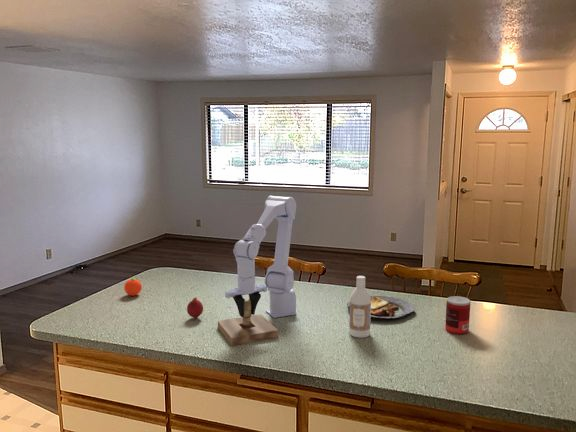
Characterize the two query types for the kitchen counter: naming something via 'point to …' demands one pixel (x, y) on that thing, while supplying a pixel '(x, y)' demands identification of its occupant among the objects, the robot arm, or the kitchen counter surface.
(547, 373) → the kitchen counter surface
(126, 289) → the clementine
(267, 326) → the board
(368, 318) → the bath foam
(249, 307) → the peg
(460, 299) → the canned food
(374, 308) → the food plate
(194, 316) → the pomegranate
